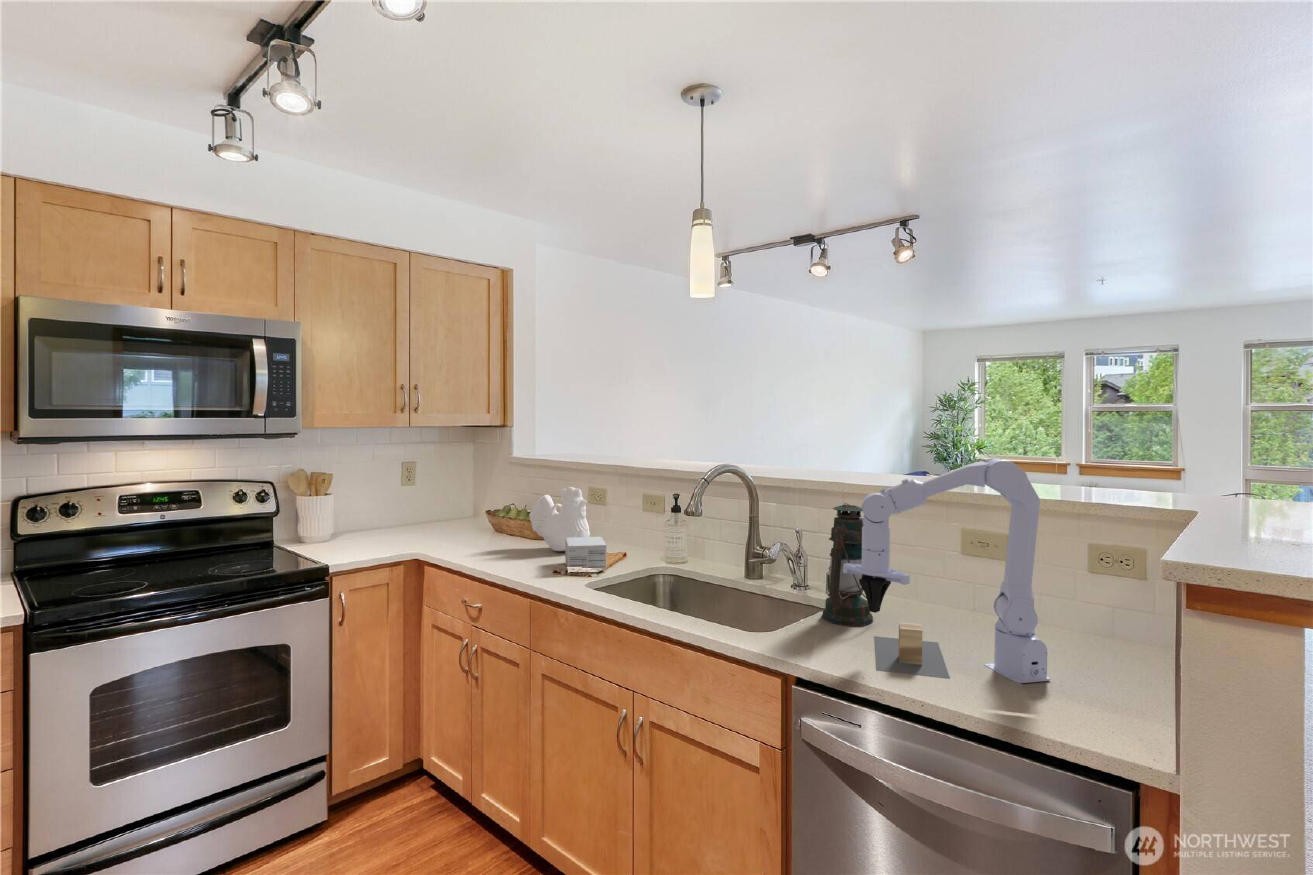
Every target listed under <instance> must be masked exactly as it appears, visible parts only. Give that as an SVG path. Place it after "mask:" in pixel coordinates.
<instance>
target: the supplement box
mask: <svg viewBox="0 0 1313 875" xmlns="http://www.w3.org/2000/svg"><path fill="white" fill-rule="evenodd" d="M564 552H565V560H564V562H566V563H565V566H566V565H567V567H582V568H602V569H604V570H606V571H607V544H606V542H605V540H604V538H603V536H590V537H570V538H565V551H564ZM567 567H566V568H567Z"/></svg>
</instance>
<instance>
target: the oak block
mask: <svg viewBox="0 0 1313 875" xmlns="http://www.w3.org/2000/svg"><path fill="white" fill-rule="evenodd" d="M923 632H924V631H923V627H922V624H921V623H913V622H912V623H909V622H900V621H899V622H898V639H899V651H898V657H899V664H907V665H916V666H922V641H923V634H924V633H923Z"/></svg>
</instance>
